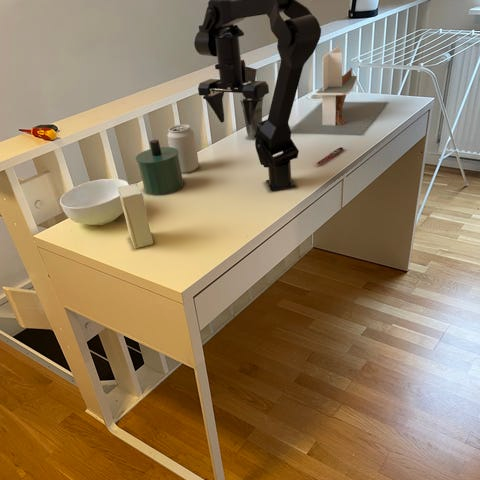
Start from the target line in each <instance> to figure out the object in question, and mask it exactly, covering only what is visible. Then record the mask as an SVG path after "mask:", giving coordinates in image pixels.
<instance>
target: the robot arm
mask: <svg viewBox="0 0 480 480" xmlns="http://www.w3.org/2000/svg"><path fill="white" fill-rule="evenodd" d="M207 4H208V5H207V8H206V10H205V15H204V19H203V23H202V24H200V25H198V32H197V33H196V35H195V37H194V42H193V45H194V48H195V51H196V52H197V54H199V55H201V56H206V57H207V56H208V57H215V58H216V59H217V63H215V64H214V69H215V70H218V73H219V75H218V76H219V78H216V79H215V78H209V79H207V80H204V81H201V82H199V85H198V86H197V90H198V96H202V99H203V100H205V101H206V102H207V103H208V105H209V107H210V108H211V109H212V110H213V112H214V114H215V115H216V117H217V119H218V121H219V122H220V123H221V124H222V123H224V122H225V111H224V110H225V109H224V103H223V102H224V100H223V99H224V95H225V93H236V94H241V93H243V96H244V97H245V99H243V104H244V108H245V113H246V118H247V122H248V125H252V123H253V118H254V114H255V110H256V107H257V104H258V101H259V100H260V99H261V98H263V99H264V97H265V96H266V95H268V94H269V93H270V89H269V87H270V86H269V84H268V82H267V81H265V80H257V71H258V69H256V68H255V67H254V68H253V67H251V66H246V61H245V59H242V57H241V56H242V55H241V45H240V37H244V35H245V32H244V31H243V30H242V29H241V28H240V27H239V26H238V25H237V24H238V23H240V22H243V21H244V20H245V19H246V18H250V17H257V16H265V15H267V17H268V19H269V25H270V26H269V27H270V31H271V33H272V34H273V35H274V37H276V39H277V46H276V47H277V48H276V49H277V52H278V54H279V58H280V64H279V67H278V73H277V77H276V81H275V85H274V90H273V95H272V99H271V103H270V107H269V112H268V117H267V118H266V119H264V120H262V122H259V123H258V125H257V131H256V135H255V136H254V138H256V139H254V140H255V141H254V145H255V150H256V153H257V157H258V160H259V164H260V165H261V166H263V168H267V171H268V179H267V180H265V183H266V185H267V187H268V189H269V191H270V192H274V191H280V190H286V189H292V188H295V187H296V184H295V182H294V180H293V178H292V165H291V163H292V162H291V161H293V160H296V159H298V156H299V153H300V150H299V149H298V147H297V146H296V144H295V143H294V141H293V139H292V133H291V131H292V130H291V127H290V125H289V122H290V117H291V114H292V110H293V106H294V103H295V98H296V95H297V92H298V88H299V84H300V80H301V76H302V73H303V70H304V69H303V68H304V66H305V64H306V63H307V62H308V60H309V59H310V58H311V56H312V55H313V54H314V53H315V51H316V49H317V46H318V43H319V41H320V39H321V36H322V27H321V25H320V23H319V20H318V18H317V17H316V16H315V15H314V14H313V13H312V12H311V10H310V9H309V8H308V7H307V6H306V5H304V4H302V3H300V2H299V1H298V0H209V1H208V2H207ZM281 13H283V14H284V15H285V16H286V17H287V18H288V19H285V20H284V18H283V17H282V16H281ZM247 82H249V83H248V84H247Z"/></svg>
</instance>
